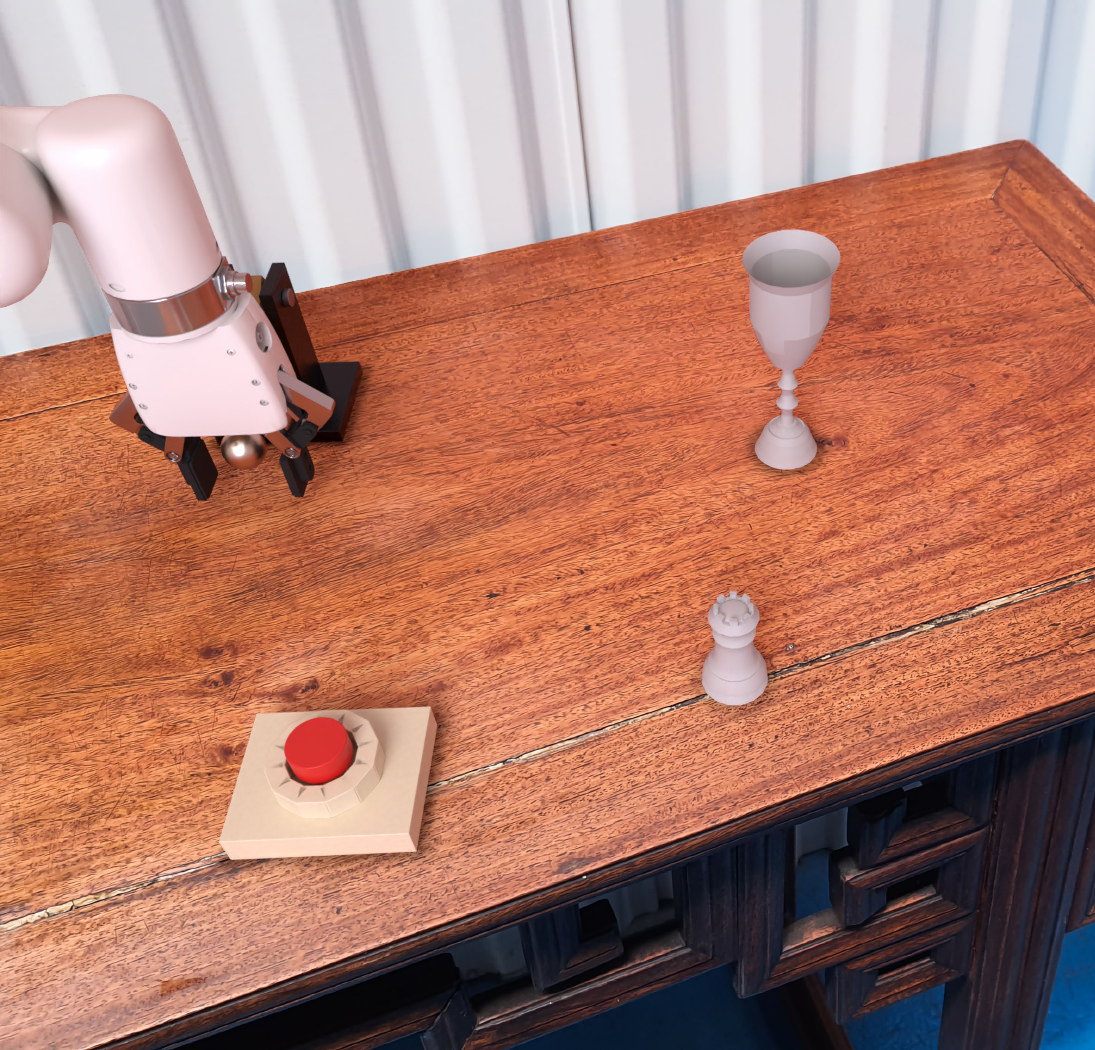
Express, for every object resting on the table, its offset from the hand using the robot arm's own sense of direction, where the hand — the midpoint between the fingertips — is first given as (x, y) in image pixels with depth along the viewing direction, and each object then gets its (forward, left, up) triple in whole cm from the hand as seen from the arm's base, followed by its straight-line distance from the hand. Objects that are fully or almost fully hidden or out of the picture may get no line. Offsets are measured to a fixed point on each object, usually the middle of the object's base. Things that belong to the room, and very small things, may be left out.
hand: (255, 484), depth 89 cm
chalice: (+41, +4, -2) cm, 41 cm away
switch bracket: (0, +11, -2) cm, 11 cm away
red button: (+11, -26, +2) cm, 28 cm away
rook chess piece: (+36, -19, -2) cm, 41 cm away
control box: (+11, -26, -2) cm, 28 cm away
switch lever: (0, +6, +5) cm, 8 cm away
